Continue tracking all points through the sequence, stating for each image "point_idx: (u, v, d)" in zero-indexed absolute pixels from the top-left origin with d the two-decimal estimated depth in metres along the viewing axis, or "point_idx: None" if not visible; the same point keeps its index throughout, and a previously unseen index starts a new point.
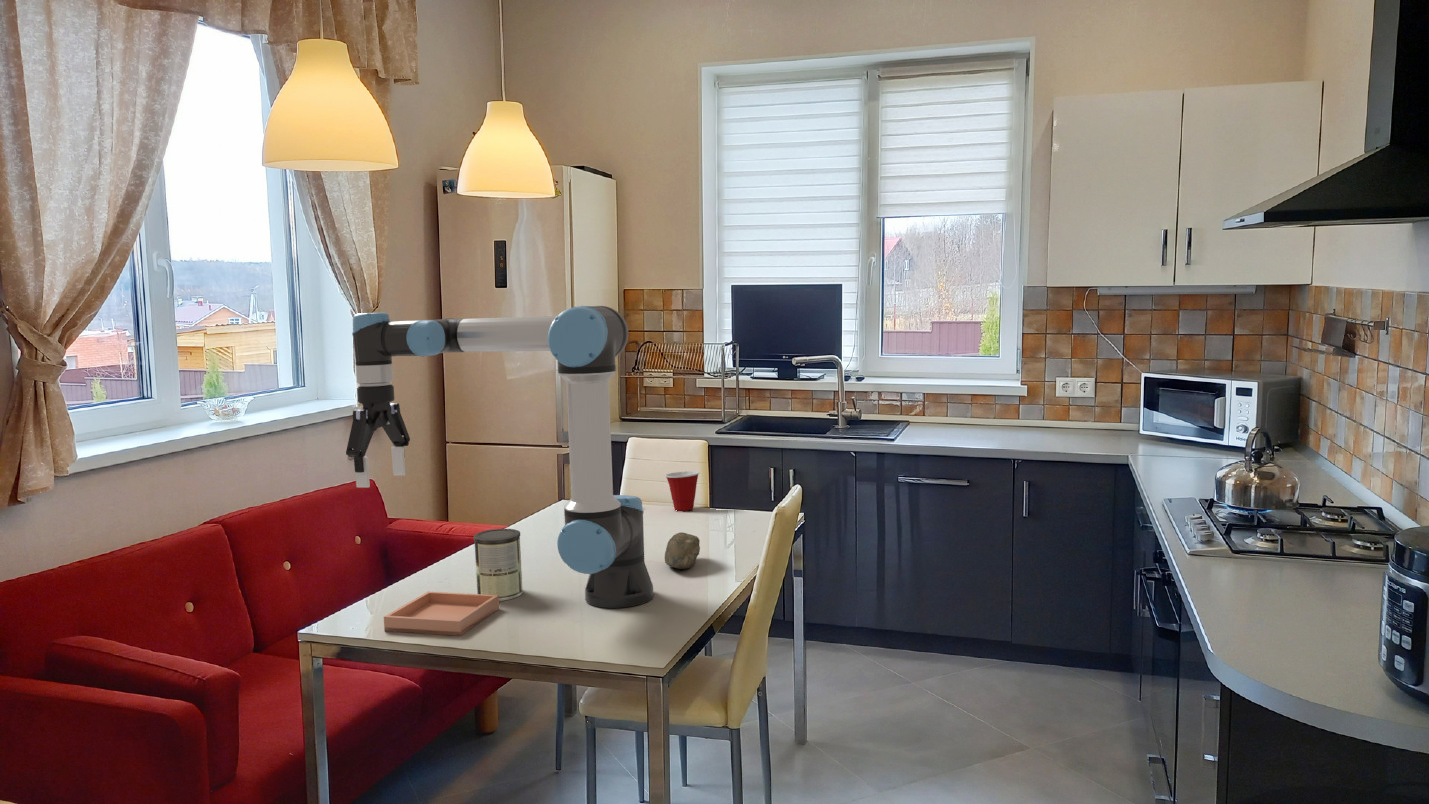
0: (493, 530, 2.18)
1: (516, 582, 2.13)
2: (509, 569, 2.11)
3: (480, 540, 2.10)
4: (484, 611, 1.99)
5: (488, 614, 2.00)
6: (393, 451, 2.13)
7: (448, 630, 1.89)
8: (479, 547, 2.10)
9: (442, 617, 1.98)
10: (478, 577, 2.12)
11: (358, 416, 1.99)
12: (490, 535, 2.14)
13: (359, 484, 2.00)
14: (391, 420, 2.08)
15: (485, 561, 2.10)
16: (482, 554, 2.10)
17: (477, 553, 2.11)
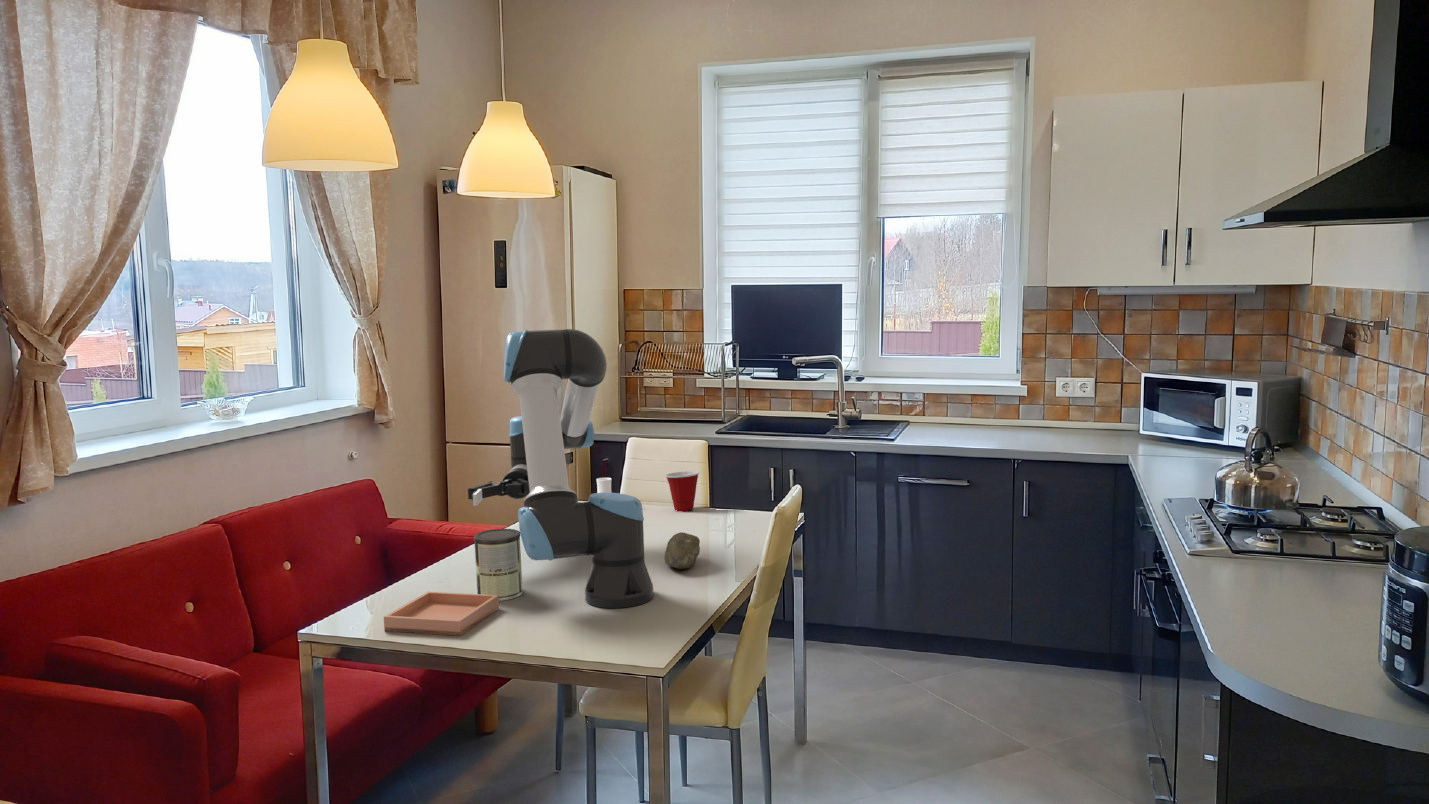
0: (493, 530, 2.18)
1: (516, 582, 2.13)
2: (509, 569, 2.11)
3: (480, 540, 2.10)
4: (484, 611, 1.99)
5: (488, 614, 2.00)
6: None
7: (448, 630, 1.89)
8: (479, 547, 2.10)
9: (442, 617, 1.98)
10: (478, 577, 2.12)
11: None
12: (490, 535, 2.14)
13: None
14: (523, 481, 2.36)
15: (485, 561, 2.10)
16: (482, 554, 2.10)
17: (477, 553, 2.11)
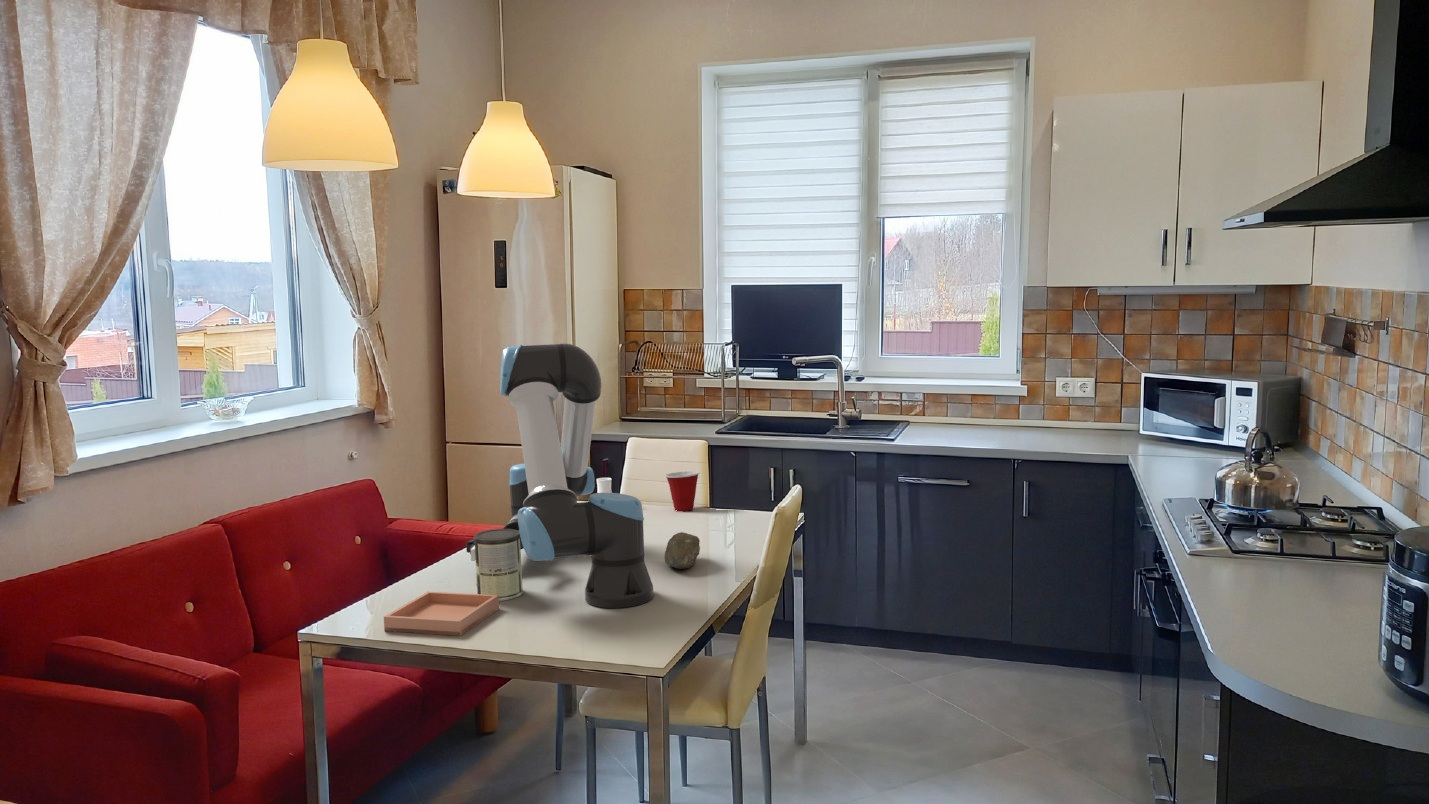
0: (493, 530, 2.18)
1: (516, 582, 2.13)
2: (509, 569, 2.11)
3: (480, 540, 2.10)
4: (484, 611, 1.99)
5: (488, 614, 2.00)
6: None
7: (448, 630, 1.89)
8: (479, 547, 2.10)
9: (442, 617, 1.98)
10: (478, 577, 2.12)
11: None
12: (490, 535, 2.14)
13: None
14: None
15: (485, 561, 2.10)
16: (482, 554, 2.10)
17: (477, 553, 2.11)
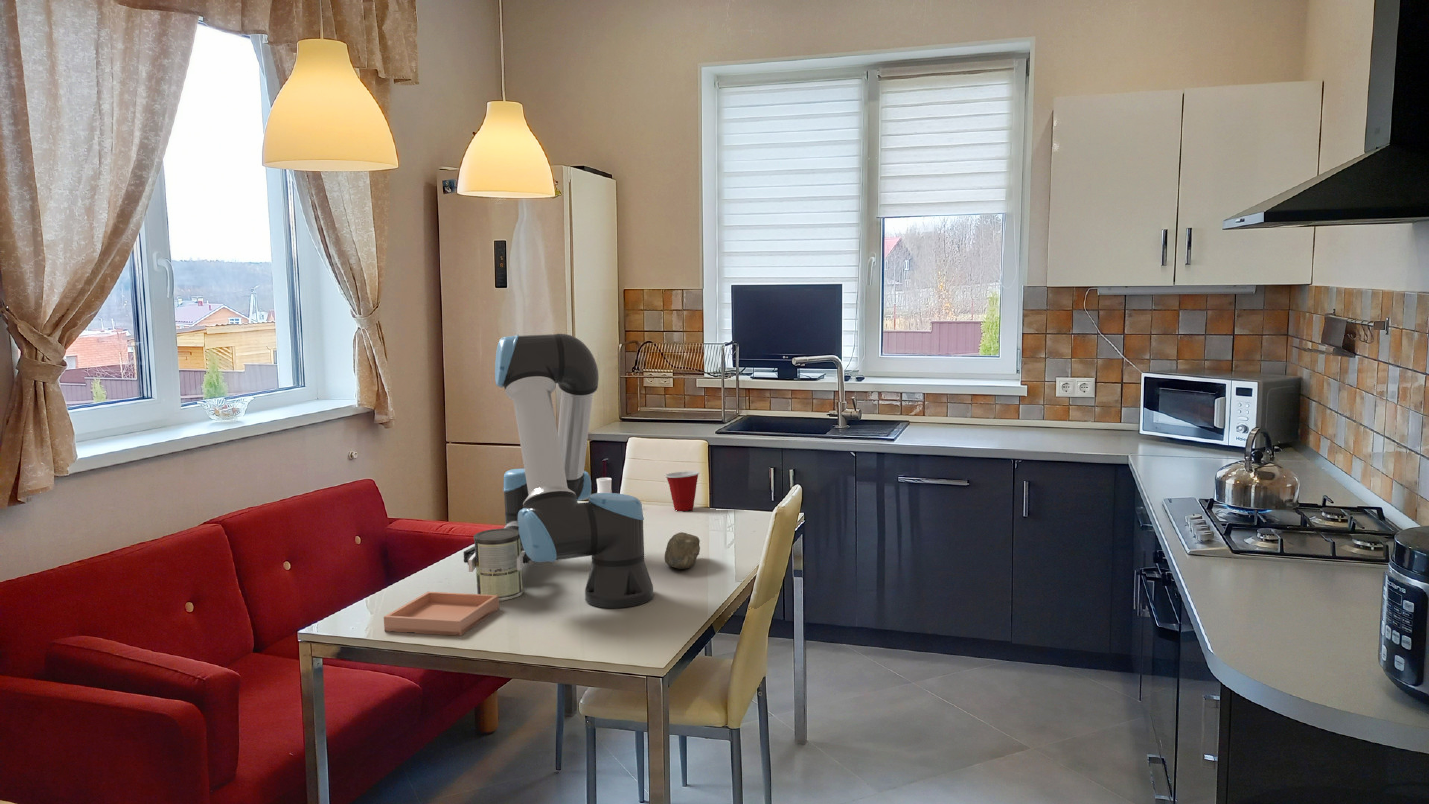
0: (493, 530, 2.18)
1: (516, 582, 2.13)
2: (509, 569, 2.11)
3: (480, 540, 2.10)
4: (484, 611, 1.99)
5: (488, 614, 2.00)
6: None
7: (448, 630, 1.89)
8: (479, 547, 2.10)
9: (442, 617, 1.98)
10: (478, 577, 2.12)
11: None
12: (490, 535, 2.14)
13: None
14: None
15: (485, 561, 2.10)
16: (482, 554, 2.10)
17: (477, 553, 2.11)
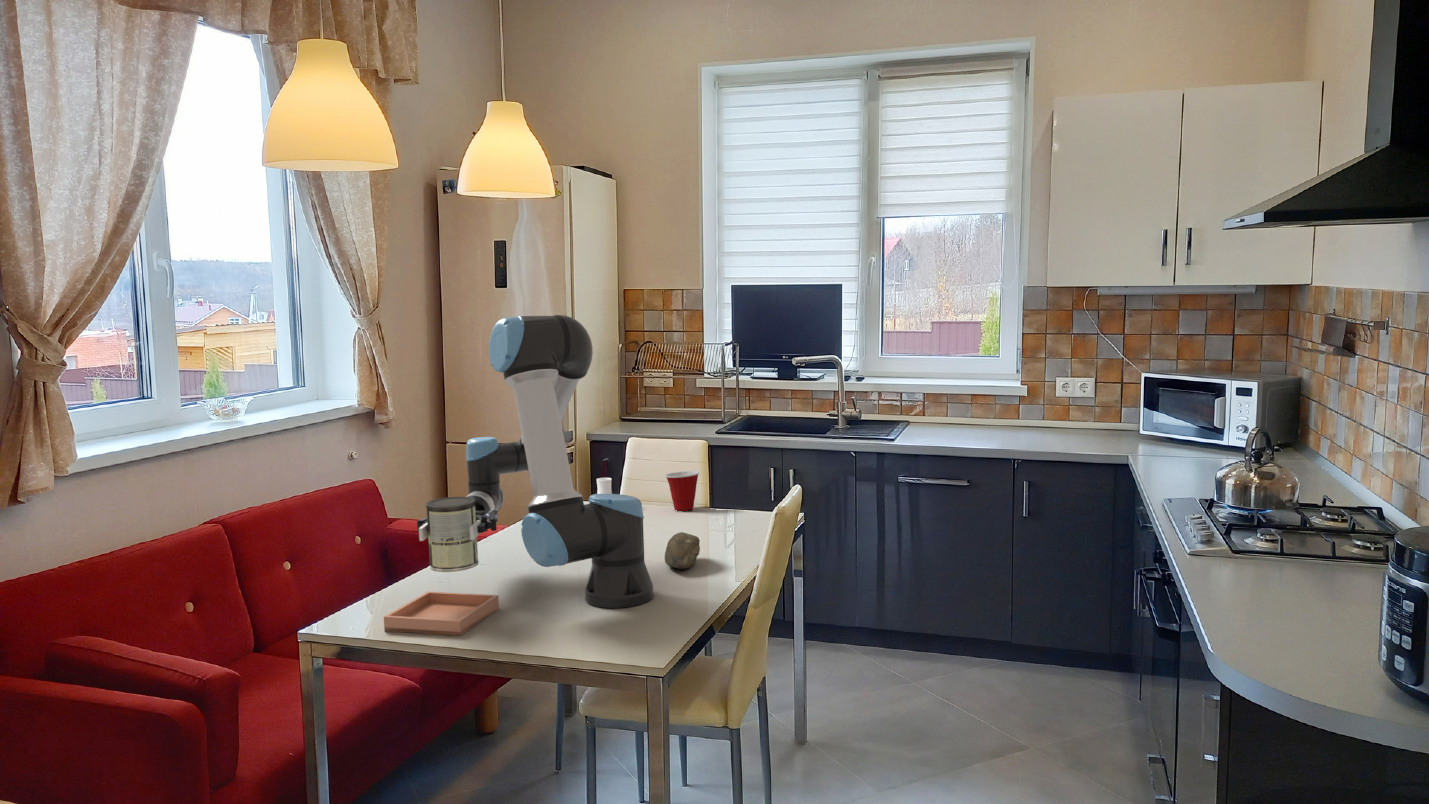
0: (448, 498, 2.06)
1: (470, 552, 2.01)
2: (461, 538, 1.99)
3: (431, 507, 1.98)
4: (484, 611, 1.99)
5: (488, 614, 2.00)
6: None
7: (448, 630, 1.89)
8: (430, 515, 1.99)
9: (442, 617, 1.98)
10: (430, 547, 2.01)
11: None
12: (443, 503, 2.02)
13: None
14: None
15: (436, 530, 1.99)
16: (433, 523, 1.99)
17: (429, 521, 2.00)
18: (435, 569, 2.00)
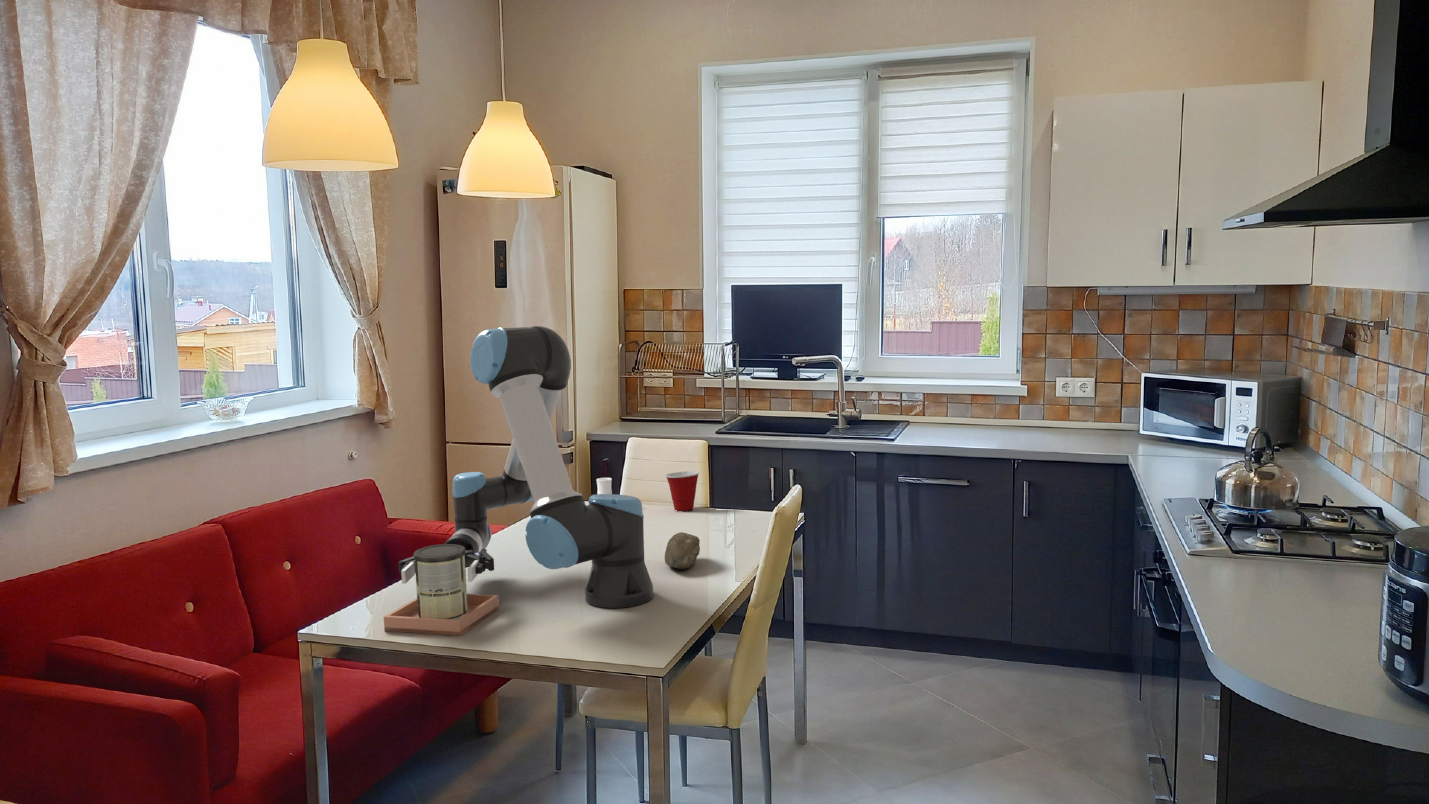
0: (437, 546, 2.01)
1: (459, 603, 1.96)
2: (451, 589, 1.94)
3: (419, 557, 1.93)
4: (484, 611, 1.99)
5: (488, 614, 2.00)
6: None
7: (448, 630, 1.89)
8: (419, 565, 1.94)
9: None
10: (418, 597, 1.96)
11: None
12: (432, 551, 1.97)
13: None
14: None
15: (425, 581, 1.93)
16: (421, 573, 1.94)
17: (417, 571, 1.95)
18: None
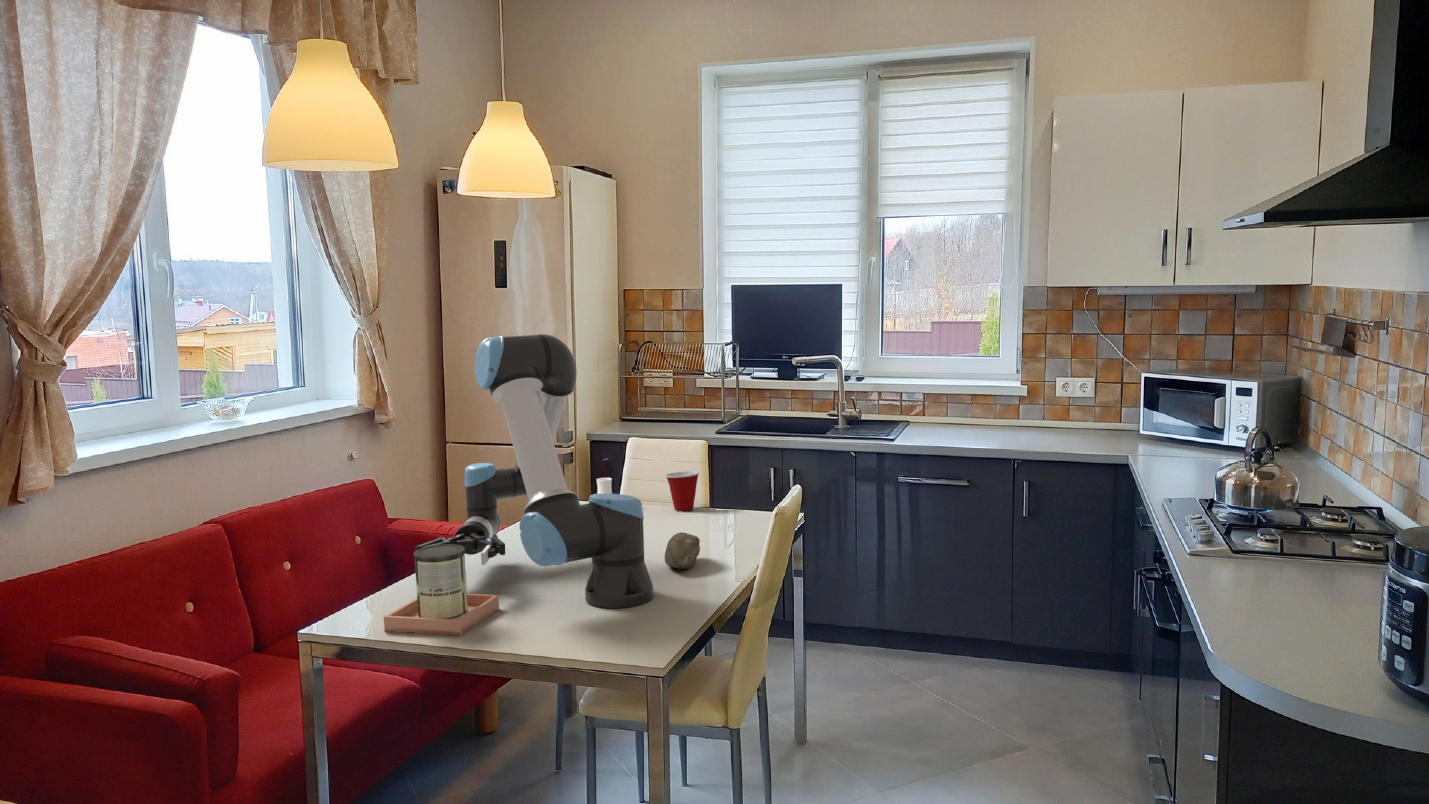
0: (437, 546, 2.01)
1: (459, 602, 1.96)
2: (451, 589, 1.94)
3: (419, 557, 1.93)
4: (484, 611, 1.99)
5: (488, 614, 2.00)
6: None
7: (448, 630, 1.89)
8: (419, 565, 1.94)
9: None
10: (418, 597, 1.96)
11: None
12: (432, 551, 1.97)
13: None
14: (476, 537, 2.20)
15: (425, 580, 1.94)
16: (421, 573, 1.94)
17: (417, 571, 1.95)
18: None
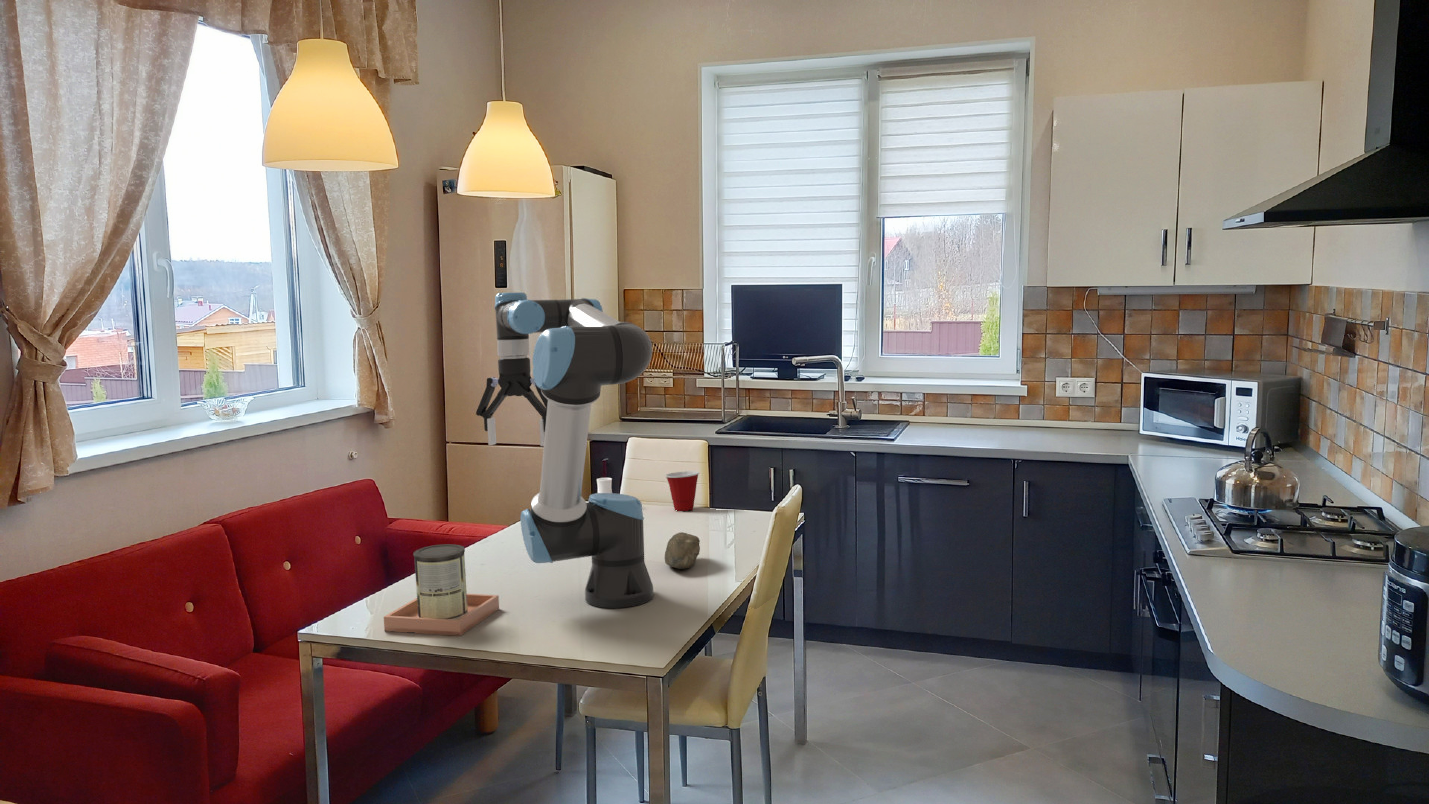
0: (437, 546, 2.01)
1: (459, 603, 1.96)
2: (450, 589, 1.94)
3: (419, 557, 1.93)
4: (484, 611, 1.99)
5: (488, 614, 2.00)
6: None
7: (448, 630, 1.89)
8: (418, 565, 1.94)
9: None
10: (418, 597, 1.96)
11: None
12: (432, 551, 1.97)
13: None
14: (522, 392, 2.25)
15: (424, 580, 1.94)
16: (421, 573, 1.94)
17: (416, 571, 1.95)
18: None
